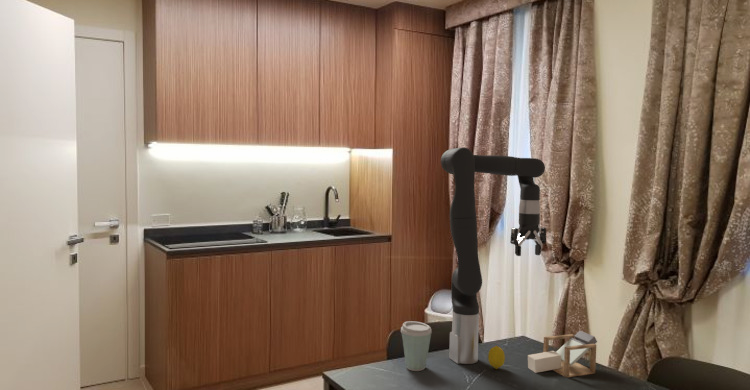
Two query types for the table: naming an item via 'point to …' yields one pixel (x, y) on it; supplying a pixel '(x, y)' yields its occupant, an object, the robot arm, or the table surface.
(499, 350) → the lemon
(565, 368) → the frame
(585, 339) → the door
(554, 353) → the block
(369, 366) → the table surface
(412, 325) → the disposable coffee cup
